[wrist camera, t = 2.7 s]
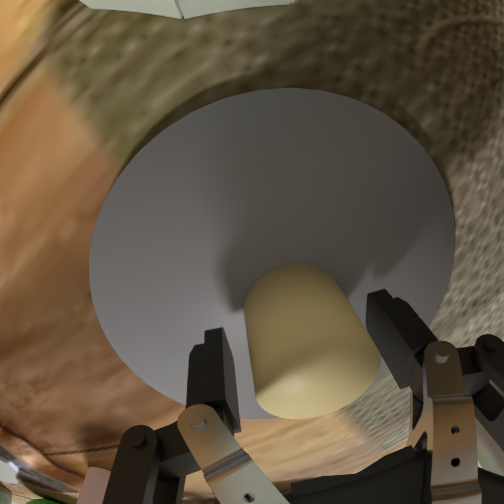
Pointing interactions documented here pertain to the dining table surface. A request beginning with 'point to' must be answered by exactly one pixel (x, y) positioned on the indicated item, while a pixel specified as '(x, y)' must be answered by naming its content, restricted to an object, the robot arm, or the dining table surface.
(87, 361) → the dining table surface
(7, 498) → the coffee cup
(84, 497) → the smoothie
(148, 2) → the bowl
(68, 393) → the dining table surface
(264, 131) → the lid
